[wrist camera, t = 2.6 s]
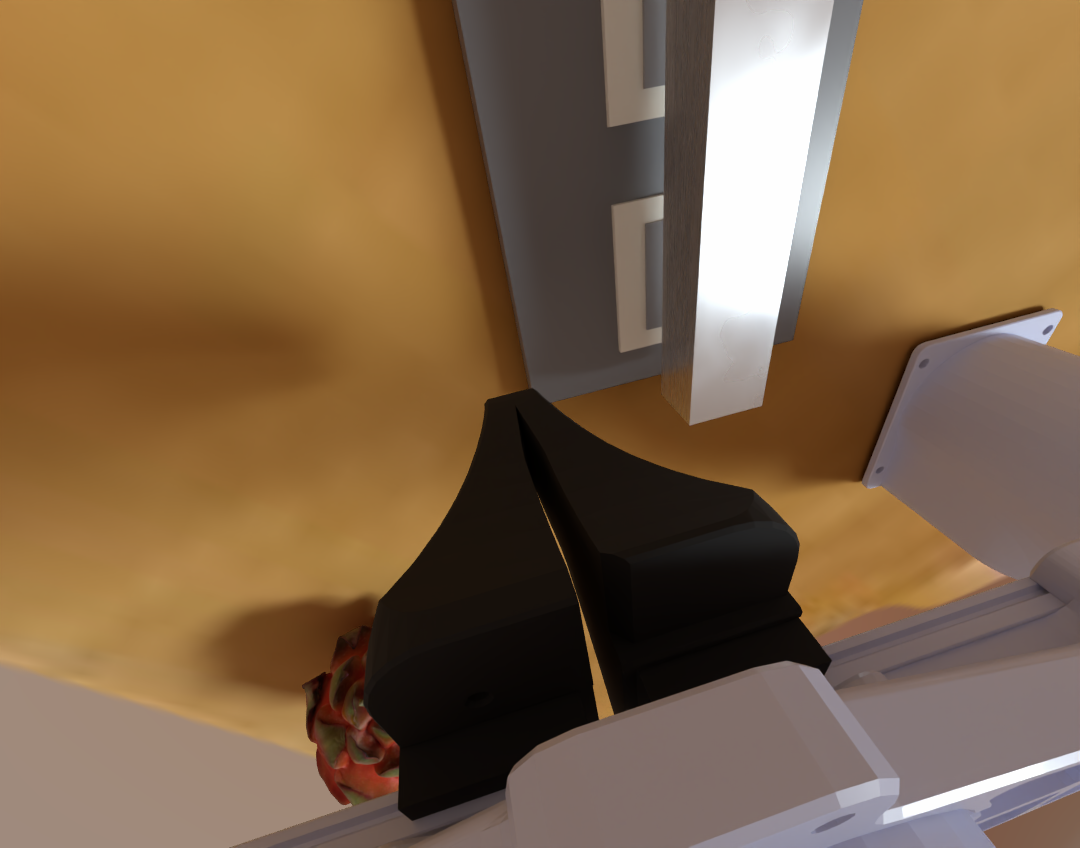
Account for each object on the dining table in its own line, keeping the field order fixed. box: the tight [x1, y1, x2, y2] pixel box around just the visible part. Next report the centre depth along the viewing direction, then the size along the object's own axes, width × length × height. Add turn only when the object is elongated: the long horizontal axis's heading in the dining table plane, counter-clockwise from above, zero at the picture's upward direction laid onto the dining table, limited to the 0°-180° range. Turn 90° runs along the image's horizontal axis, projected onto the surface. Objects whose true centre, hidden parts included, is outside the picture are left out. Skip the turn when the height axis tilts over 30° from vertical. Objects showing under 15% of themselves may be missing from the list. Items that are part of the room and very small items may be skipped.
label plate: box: [452, 0, 863, 403], centre depth 11 cm, size 19×11×3 cm, turn 9°
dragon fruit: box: [302, 625, 400, 806], centre depth 22 cm, size 8×8×12 cm
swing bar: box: [661, 0, 834, 426], centre depth 9 cm, size 18×3×2 cm, turn 9°
